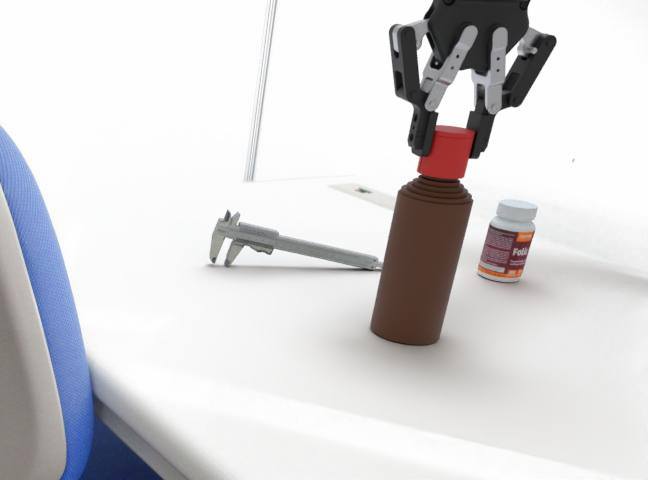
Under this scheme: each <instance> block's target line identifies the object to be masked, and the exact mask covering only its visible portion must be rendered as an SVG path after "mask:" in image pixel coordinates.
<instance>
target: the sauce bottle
mask: <svg viewBox="0 0 648 480" xmlns="http://www.w3.org/2000/svg"><path fill="white" fill-rule="evenodd" d="M417 176H418V177H415V178H413V179H412V180H410V181H408V182H407V183H406V184H403V185H401V187H400V189H399V190H398V191H397V194H396V199H395V204H394V209H393V213H392V218H391V223H390V228H389V232H388V238H387V242H386V246H385V251H384V257H383V261H382V262H383V266H382V268H381V270H380V271H381V272H380V276H379V280H378V286H377V289H376V290H377V291H376V296H375V300H374V305H373V310H372V314H371V319H370V323H369V324H370V325H369V328H370V330H371V331H372V332H373V333H374V334H376V335H377V336H379V337H381V338H384V339H386V340H387V341H388V340H389V341H392V342H395V343H400V344H406V345H414V346H415V345H417V346H422V345H423V346H424V345H430V344H434V343H436V342H438V341H439V340H440V338H441V335H442V334H441V333H442V329H443V326H444V321H445V317H446V314H447V310H448V305H449V301H450V297H451V294H452V289H453V285H454V281H455V278H456V273H457V269H458V265H459V261H460V258H461V253H462V249H463V245H464V240H465V237H466V233H467V229H468V225H469V221H470V217H471V212H472V208H473V204H474V199H473V198H472V197H473V195H472V194H471V193H470V192H469V190H468V189H467V188H465V185H464V184H463V183H461V180H460V179H442V178H435V177H430V176H426V175H422V174H419V175H417Z"/></svg>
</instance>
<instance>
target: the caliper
mask: <svg viewBox="0 0 648 480" xmlns="http://www.w3.org/2000/svg"><path fill="white" fill-rule="evenodd" d="M240 218H241V213H240V212H239V211H236V212H235V213H234V214H233V215H232V213H231V211H230V210H229V209H228V208H227V209H226V213H225V214H224V217H223V218H222V217H218V219H217V221H216V224H215V227H214V228H213V231H212V234H211V241H210V249H209V260H210V262H211V263H212V264H214V265H215V264H216V262H217V260H218V257H219V254H220V252H221V249H222V246H223V244H224V242H225V239H226V238H227V239H228V240H229V239H230V240H231V242H230V244H229V247H228V250H227V252H226V254H225V259H224V262H223V263H224V266H225V267H230V266H231V265H232V264H233V263H234V261H235V259H236V258H237V257H238V256H239V254H240V253H241V251H242V250H243V249H244V247H245V246H246V247H249V248H250V249H251V250H253V251H255V252H256V253H264V254H266V255H268V256H271V255H272V254H273V252H274V250H279V251H283V252H287V253H292V254H297V255H302V256H305V257H310V258H316V259H319V260H325V261H328V262H334V263H338V264H342V265H347V266H350V267H355V268H360V269H364V270H369V271H375V270H376V268H380V269H382V266H383V261H379V258H378V257H377V256H376V255H372V254H368V253H364V252H359V251H353V250H350V249H345V248H343V247H342V248H341V247H336V246H333V245H327V244H323V243H319V242H314V241H309V240H305V239H300V238H296V237H292V236H287V235H282V234H280V232H279V231H278V230H277V229H274V228H269V227H266V226H265V227H264V226H260V225H256V224H252V223H249V222H244V221H239V220H240Z"/></svg>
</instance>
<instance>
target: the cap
mask: <svg viewBox="0 0 648 480" xmlns="http://www.w3.org/2000/svg"><path fill="white" fill-rule="evenodd" d="M474 135H475V131H473V130H470V129H466V127H462V126H461V127H460V126H454V125H444V124H443V125H442V124H436V127H435V132H434V136H433V141H432V145H431V150H430V154H429V156H428V157H418V162H417V166H416V167H417V168H416V172H417V173H418V174H419V175H426V176H430V177H435V178H442V179H459V180H460V179H463V178H465V177H466V171H467V167H468V164H469V160H470V159H469V155H470V151H471V147H472V143H473V139H474Z"/></svg>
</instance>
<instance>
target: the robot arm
mask: <svg viewBox="0 0 648 480" xmlns="http://www.w3.org/2000/svg"><path fill="white" fill-rule="evenodd" d="M531 1H532V0H432V2H431V5H430V6H429V8H428V10H427V11H426V12H425V14H424V16H423V18H422V19H419V20H416V21H414V22H410V23H406V24H401V23H395V24H393V25H391V26H390V27H389V30H388V39H389V50H390V59H391V68H392V77H393V78H392V79H393V87H394V88H393V89H394V94H395V96H396V97H397V98H400V99H401V100H403V101H405V102H407V103H410V105H412V108H413V112H412V117H411V122H410V125H409V126H410V127H409V130H408V135H407V140H406V141H407V146H408V147H409V148H410V149H411V153H412V154H413V155H415V156H417V157H418V158H420V157H428V156H429V154H430V150H431V145H432V141H433V136H434V132H435V127H436V125H437V122H438V118H439V114H440V112H437V111H436V110H437V109H438V108H439V106H440V104H441V102H442V100H443V98H444V95H445V94H446V92H447V90H448V88H449V86H451V85H452V84H453V83H454V81H455V79H456V77H457V75H458V73H459V71H465V70H469V69H470V78H471V81H472V83H473V106H474V110H469V113H468V117H467V121H466V125H465V128H466V129H470V130H473V131H475V135H474V139H473V143H472V147H471V151H470V155H469V160H478V159H480V156H481V153H484V152H485V151H486V150H487V148H488V147H489V142H490V138H491V134H492V131H493V127H494V122H495V119H496V116H497V115H498V113H499V112H501V111H503V110H506V109H509V108H519V107H520V106H521V105H522V104H523V103H524V101H525V99H526V97H527V95H528V94H529V92H530V91H531V89H532V87H533V85H534V84H535V82H536V80H537V79H538V77H539V75H540V73H541V72H542V70H543V68H544V66H545V65H546V64H547V61H548V60H549V58H550V56H551V55H552V53H553V51H554V49H555V47H556V46H557V42H558V39H557V37H556V36H555V35H554V34H549V33H547V32H546V33H545V32H542V31H539V30H536V29H535V28H533V27H531V26H530V18H529V13H528V10H529V6H530V3H531ZM424 37H426V39H427V42H428V44H429V46H430V48H431V53H430V55H429V58H428V59H427V62H426V64H425V66H424V68H423V71H422V79H420V68H419V59H418V50H420V49H421V48H422V46H423V40H424ZM517 44H518V46H517ZM515 46H517V47H516V52H517V56H516V58H515V60H514V61H513V63H512V64H511V67H510V68H509V70H508V71H507V73H506V63H507V61H506V56H507V55H508V54H509V53H510V52H511V51H512V50H513V49H514V48H515ZM420 80H421V81H420Z"/></svg>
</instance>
